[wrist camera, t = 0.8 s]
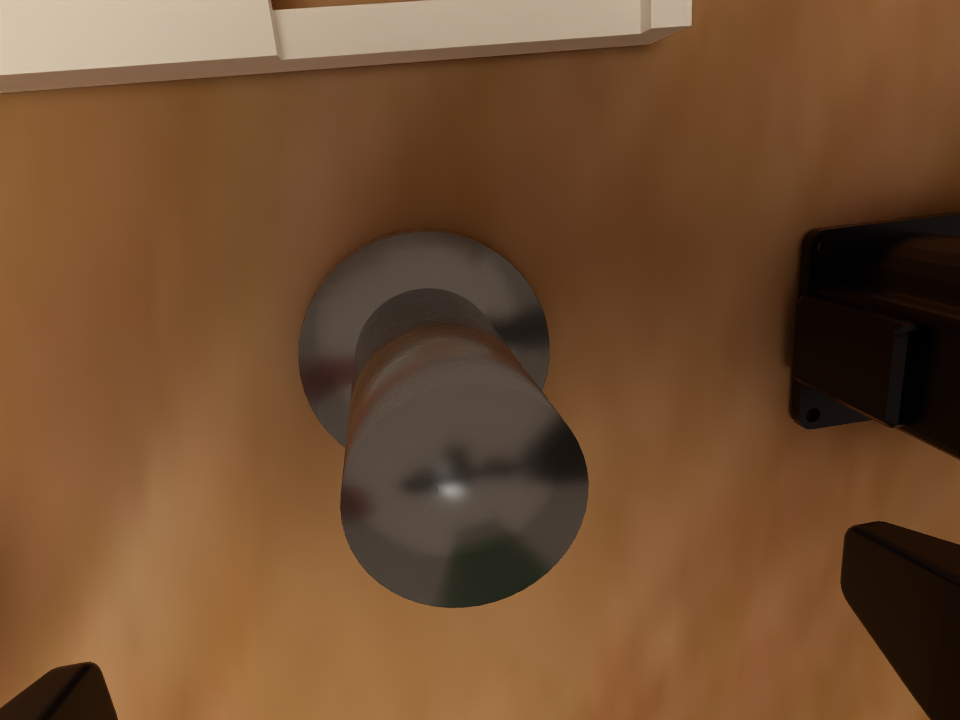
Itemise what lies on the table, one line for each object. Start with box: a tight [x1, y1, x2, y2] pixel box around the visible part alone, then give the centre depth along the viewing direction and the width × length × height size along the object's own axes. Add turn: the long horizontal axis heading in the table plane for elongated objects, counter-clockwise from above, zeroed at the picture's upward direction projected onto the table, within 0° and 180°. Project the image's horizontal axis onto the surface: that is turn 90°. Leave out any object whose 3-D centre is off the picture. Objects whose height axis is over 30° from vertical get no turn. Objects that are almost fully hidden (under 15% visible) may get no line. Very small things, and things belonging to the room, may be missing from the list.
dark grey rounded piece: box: [299, 229, 588, 608], centre depth 14 cm, size 7×7×9 cm
